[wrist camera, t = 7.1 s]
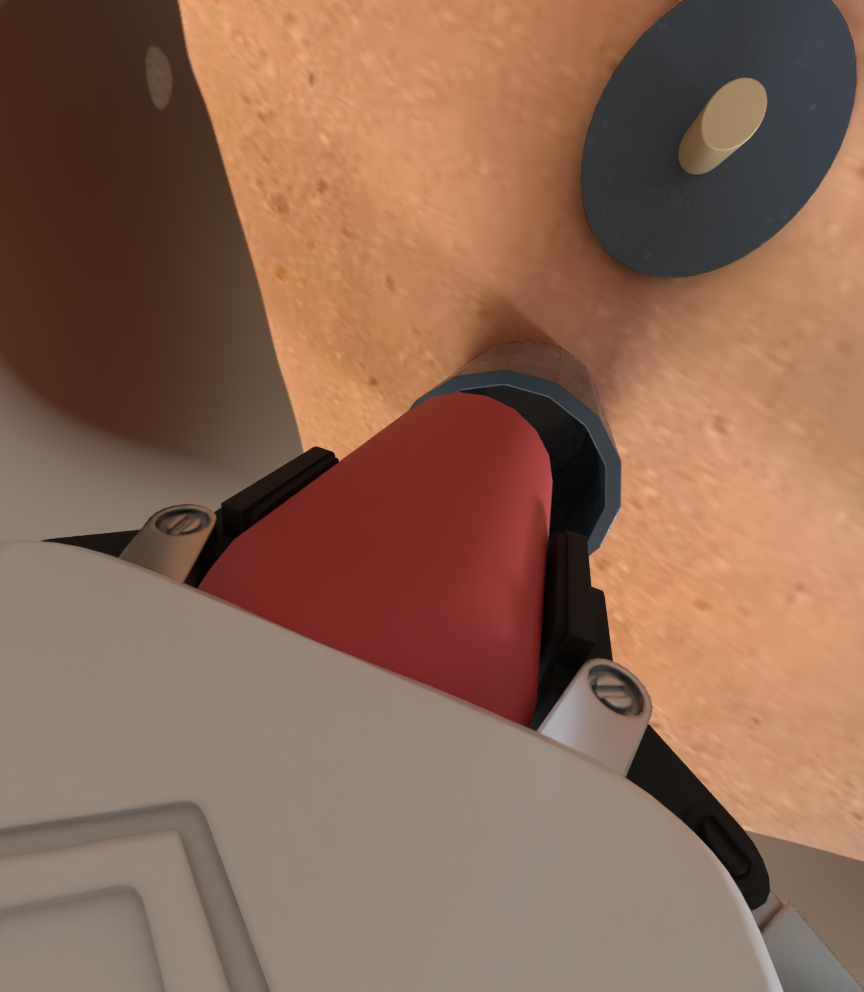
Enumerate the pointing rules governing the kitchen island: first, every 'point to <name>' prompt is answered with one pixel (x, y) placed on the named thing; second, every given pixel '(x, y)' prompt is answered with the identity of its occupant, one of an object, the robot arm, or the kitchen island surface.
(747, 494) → the kitchen island surface
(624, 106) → the lid
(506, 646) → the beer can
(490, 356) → the tin
